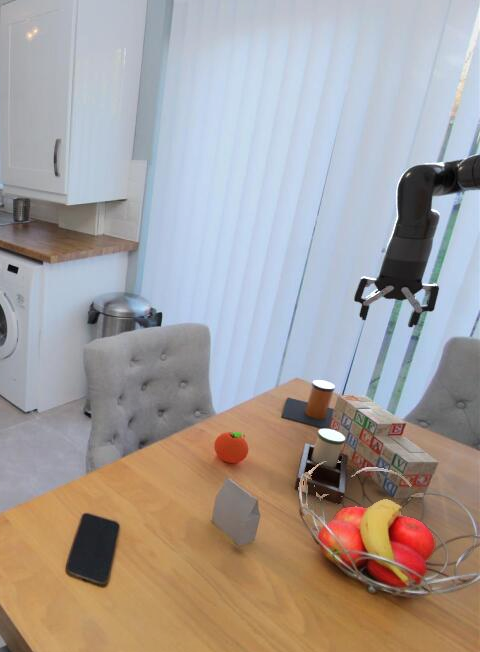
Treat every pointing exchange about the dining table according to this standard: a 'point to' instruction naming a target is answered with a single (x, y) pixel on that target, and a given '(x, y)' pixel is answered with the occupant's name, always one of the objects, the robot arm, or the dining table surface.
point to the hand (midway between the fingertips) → (386, 322)
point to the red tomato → (231, 447)
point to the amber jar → (319, 399)
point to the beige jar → (328, 447)
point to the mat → (297, 413)
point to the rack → (323, 476)
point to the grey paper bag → (236, 513)
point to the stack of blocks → (381, 446)
